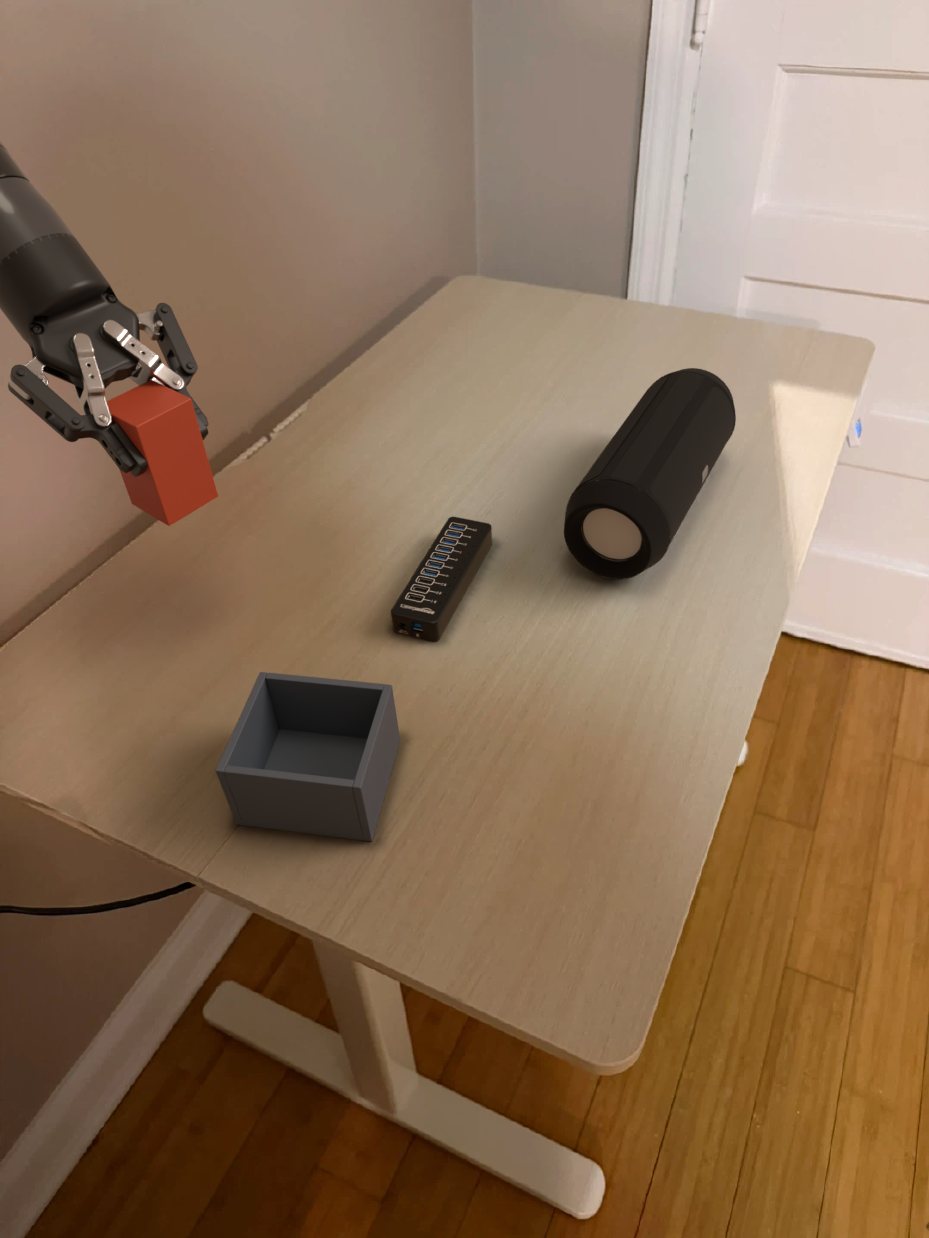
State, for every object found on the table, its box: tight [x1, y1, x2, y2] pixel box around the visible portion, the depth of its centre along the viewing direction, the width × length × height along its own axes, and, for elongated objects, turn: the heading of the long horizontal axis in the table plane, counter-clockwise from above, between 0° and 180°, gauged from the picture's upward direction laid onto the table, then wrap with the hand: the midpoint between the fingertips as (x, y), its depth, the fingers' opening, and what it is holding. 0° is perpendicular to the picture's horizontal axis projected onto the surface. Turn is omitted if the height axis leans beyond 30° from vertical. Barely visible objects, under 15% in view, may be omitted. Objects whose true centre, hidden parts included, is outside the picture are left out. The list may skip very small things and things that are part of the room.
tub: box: [215, 671, 401, 842], centre depth 65 cm, size 10×9×6 cm
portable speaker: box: [563, 367, 737, 580], centre depth 86 cm, size 26×10×10 cm, turn 152°
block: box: [106, 380, 219, 527], centre depth 69 cm, size 5×5×9 cm
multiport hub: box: [390, 516, 493, 643], centre depth 82 cm, size 4×14×2 cm, turn 159°
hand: (172, 453), depth 68 cm, fingers closed on block, 5 cm apart
